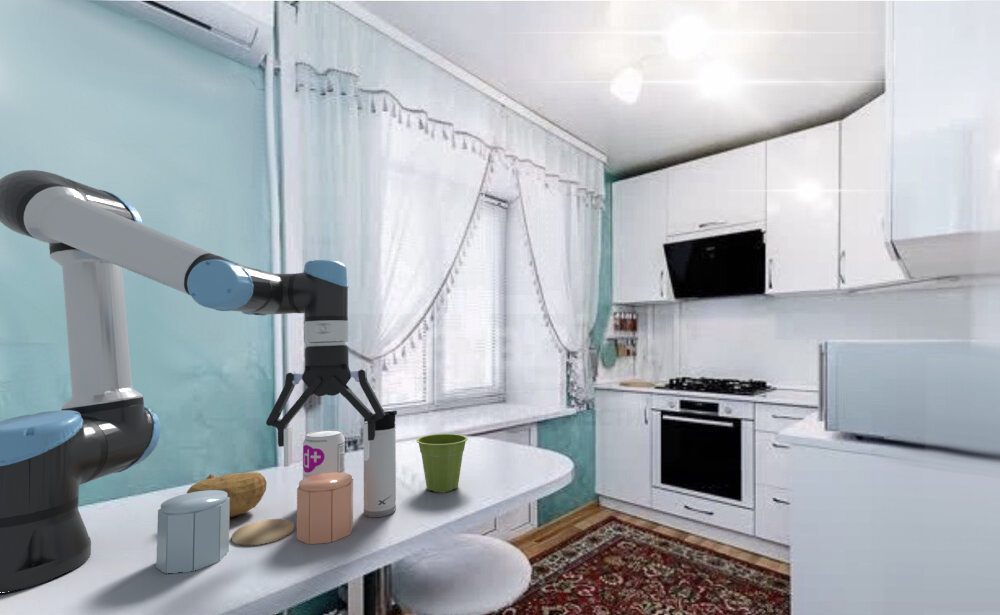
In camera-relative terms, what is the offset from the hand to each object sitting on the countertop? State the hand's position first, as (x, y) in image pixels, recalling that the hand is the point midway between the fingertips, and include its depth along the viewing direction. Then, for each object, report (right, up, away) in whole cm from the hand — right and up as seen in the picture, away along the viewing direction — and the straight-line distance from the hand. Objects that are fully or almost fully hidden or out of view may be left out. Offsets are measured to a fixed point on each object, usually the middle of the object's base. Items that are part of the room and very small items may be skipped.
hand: (328, 461), depth 84 cm
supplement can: (-6, -14, +13) cm, 19 cm away
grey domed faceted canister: (-18, -12, -10) cm, 24 cm away
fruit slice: (-32, -14, +17) cm, 39 cm away
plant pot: (+18, -14, +23) cm, 32 cm away
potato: (-23, -14, +7) cm, 28 cm away
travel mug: (+7, -13, +9) cm, 17 cm away
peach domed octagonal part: (0, -13, -1) cm, 13 cm away
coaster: (-11, -13, -1) cm, 17 cm away
